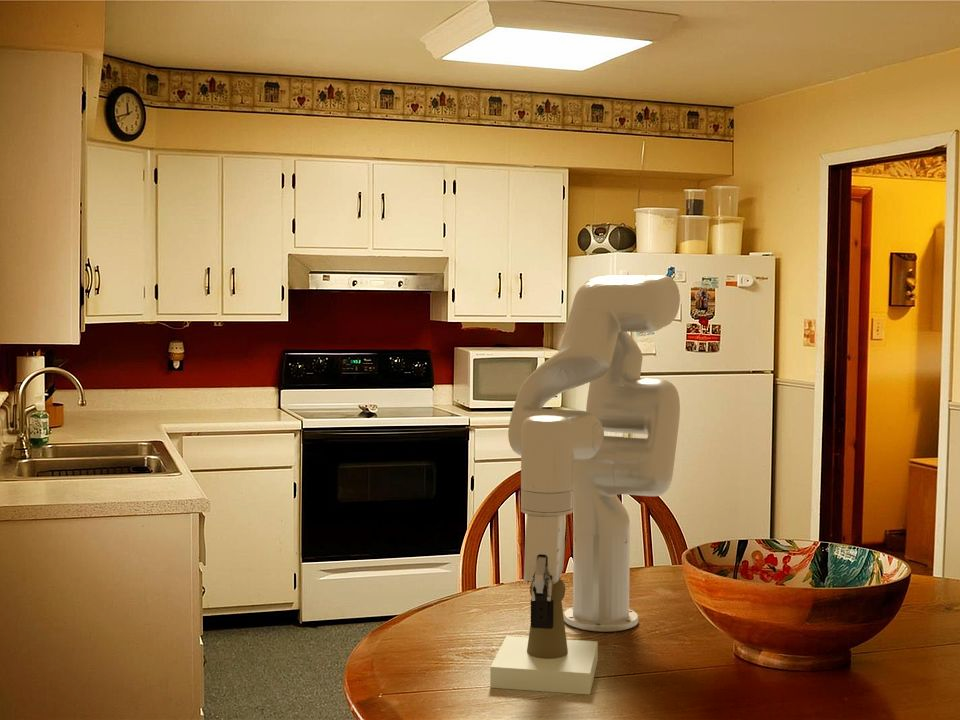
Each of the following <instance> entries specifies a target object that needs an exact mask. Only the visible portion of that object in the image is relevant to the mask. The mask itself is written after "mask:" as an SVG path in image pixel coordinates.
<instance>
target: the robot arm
mask: <svg viewBox="0 0 960 720" xmlns="http://www.w3.org/2000/svg"><path fill="white" fill-rule="evenodd" d="M573 298H574V299H573V302H572V305H571V308H570V312H569V315H568V318H567V322H566V326H565V331H564V333H563V337H562V340H561V342H560V344H561V345H560V348H559V350H558V351H557V352H556V353H555V354H553V355H552V356H550V357H549V358H548V359H547V360H545V361H544V362H542V363H541V364H540V365H538V367H537V368H536V369H535V370H534V371H532V372H531V374H529V376H528V377H527V378H526V379H525V380H524V382H522V384H521V386H520V388H519V389H518V392H517V394H516V399H515V402H514V405H513V407H512V412H511V415H510V419H509V423H508V433H507V439H508V443H509V445H510V449H512V451H513V452H514V453H516V454H517V455H519V456H520V512H521V513H523V514H526V523H525V524H526V525H525V533H524V534H525V536H524V559H523V560H524V562H523V563H524V565H523V581H524V582H525V584H529V583H530V582H532V581H533V586H532V597H531V596H530V597H531V598H530V624H531V627H532V628H543V629H552V628H553V626H554V600H552V588H553V584H555V583H557V582H558V580H559V579H561V575H562V574H563V573H562V572H563V570H564V564H565V563H564V562H565V561H564V560H565V546H566V545H565V542H566V539H565V537H566V516H568V515H571V514H572V515H573V519H572V520H573V521H572V524H573V525H572V527H573V530H572V531H573V534H572V535H573V536H572V537H573V543H572V544H573V545H572V548H573V552H572V554H573V556H572V557H573V558H572V561H573V563H572V568H573V569H572V570H573V571H572V607H570V608H567V609H566V610H565V611H563V616H564V623H566V624H567V625H568V626H569V627H573V628H576V629H580V630H584V631H591V632H606V633H607V632H621V631H626V630H628V629H632V628H634V627H636V626H637V625H638V624H639V614H638V613H636V611H634V610H633V609H630V568H631V567H630V562H631V561H630V559H631V558H630V555H631V553H630V552H631V551H630V550H631V549H630V547H631V545H630V543H631V521H630V516H629V514H628V511H627V509H626V507H625V506H624V504H623V503H622V501H621V500H620V498H619V497H618V495H629V496H640V497H659V496H662V495H664V494H665V493H667V492H668V491H669V488H671V487H670V486H671V485H672V481H673V475H674V469H675V459H676V449H677V443H678V436H679V435H678V434H679V425H680V416H681V414H680V413H681V403H680V395H679V392H678V389H677V387H676V385H674V384H673V383H672V382H670V380H666V379H661V378H649V377H648V378H646V377H643V378H642V377H641V374H642V366H643V365H642V364H643V352H642V351H641V348H640V346H639V345H638V344H637V342H636V341H635V340H634V338H633V336H631V335H630V334H629V333H631V332H633V333H634V332H635V333H637V332H638V333H648V332H649V333H650V332H652V333H653V332H656V331H657V332H658V331H659V330H661V329H663V328H666V327H667V326H669V325H671V323H672V322H674V320H675V319H676V318H677V315H678V313H679V309H680V304H681V303H680V302H681V296H680V290H679V287H678V284H677V283H676V281H675V280H674V279H673V278H672V277H671V276H669V275H605V276H604V275H603V276H597V277H594V278H590V279H589V280H587V281H586V282H585V283H584V284H583V285H582V286H580V287H579V288H578V289H577V291H576V293H575V294H574V297H573ZM586 384H589V385H588V392H587V399H586V408H585V409H586V410H585V411H584V410H576V409H575V410H572V409H561V408H559V409H557V408H556V409H555V408H543V407H544V406H545V405H546V403H548V402H549V401H550V400H551V399H553V398H554V397H556V396H558V395H560V394H562V393H564V392H567V391H569V390H572V389H575V388H578V387H581V386H583V385H586ZM605 432H608V433H616V434H617V433H618V434H619V433H620V434H634V435H636V434H637V435H647V437H646V438H642V437H626V436H625V437H624V436H614V435H613V436H612V435H605ZM545 578H550V579H545ZM547 586H548V588H547ZM547 589H548V591H547ZM547 592H548V593H547Z"/></svg>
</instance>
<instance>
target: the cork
mask: <svg viewBox="0 0 960 720" xmlns="http://www.w3.org/2000/svg"><path fill="white" fill-rule="evenodd" d="M545 579H550V578H545ZM532 586H533V580H532V581H531V583H530V585H529V593H530V597H532ZM547 588H548V586H547ZM547 591H548V589H547ZM547 593H548V592H547ZM565 594H566V586H565V583H564V581H563V580H562V579H561V578H560V579H559V580H558V582H557V583H555V584H553V588H552V600H554V626H553V628H552V629H543V628H532V627H531V623H530V626H529V634H528V637H529V639H528V647H527V653H528V654H529V655H531V656H533V657H536V658H543V659H554V658H560V657H563V656H566V655H567V654H568V648H567V640H568V639H567V633H566V632H567V631H566V626H565V625H566V624H565V621H564V609H563V600H564V598H565Z"/></svg>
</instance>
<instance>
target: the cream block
mask: <svg viewBox="0 0 960 720" xmlns="http://www.w3.org/2000/svg"><path fill="white" fill-rule="evenodd" d="M528 639H529V636H528V637H527V636H515V635H514V636H513V635H512V636H511V635H506V636H505V638H504V640H503V642H502V644H501V646H500V647H499V649H498V651H497V653H496V655H495V657H494V659H493V661H492V663H491V665H490V666H489V667H490V668H489V669H490V674H489V675H490V676H489V677H490V678H489V679H490V681H489V683H490V684H489V686H490V688H491V689H505V690H517V691H519V690H520V691H533V692H544V693H546V692H547V693H562V694H563V693H564V694H576V695H591V691H592V686H593V683H594V678H595V673H596V669H597V665H598V660H599V657H598V655H599V654H598V650H599V648H598V647H599V646H598V645H599V642H598V641H596V640H578V639H566V640H567V648H568V654H567V655H566V656H563V657H560V658H554V659H543V658H536V657H533V656H531V655H529V654H528V653H527V647H528Z"/></svg>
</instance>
